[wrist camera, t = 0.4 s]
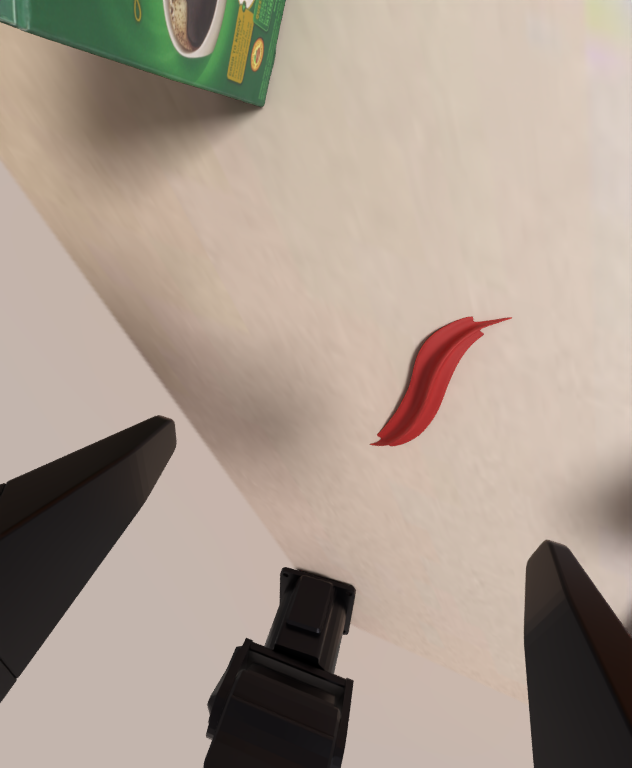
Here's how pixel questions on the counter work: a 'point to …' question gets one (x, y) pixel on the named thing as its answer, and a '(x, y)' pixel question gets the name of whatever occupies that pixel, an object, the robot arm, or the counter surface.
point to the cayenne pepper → (431, 379)
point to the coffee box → (167, 37)
